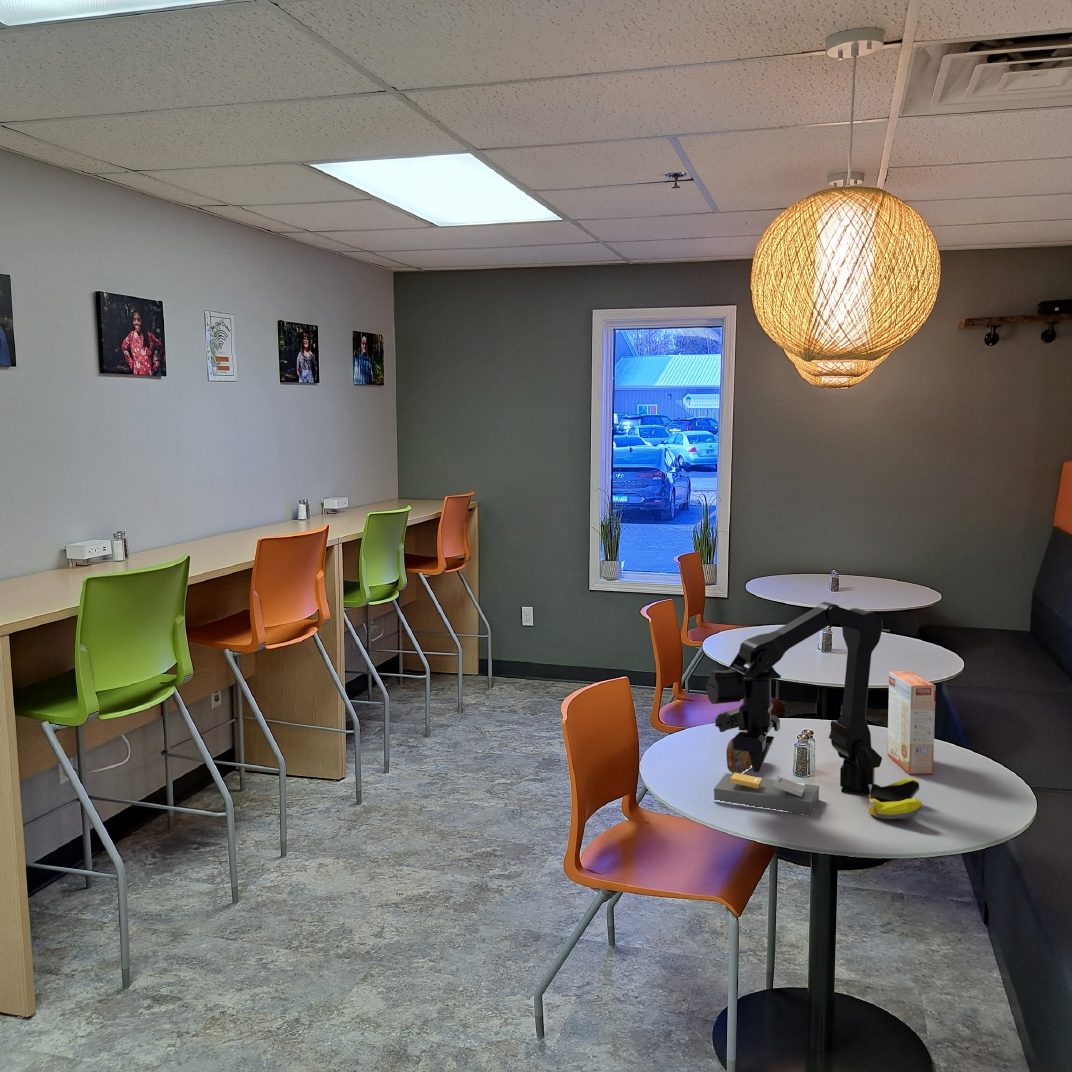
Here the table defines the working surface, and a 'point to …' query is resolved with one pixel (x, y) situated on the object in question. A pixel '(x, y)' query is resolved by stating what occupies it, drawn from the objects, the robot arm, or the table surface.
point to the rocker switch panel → (767, 796)
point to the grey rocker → (789, 786)
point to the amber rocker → (746, 780)
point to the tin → (737, 759)
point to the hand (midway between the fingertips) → (756, 771)
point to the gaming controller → (894, 800)
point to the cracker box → (911, 722)
